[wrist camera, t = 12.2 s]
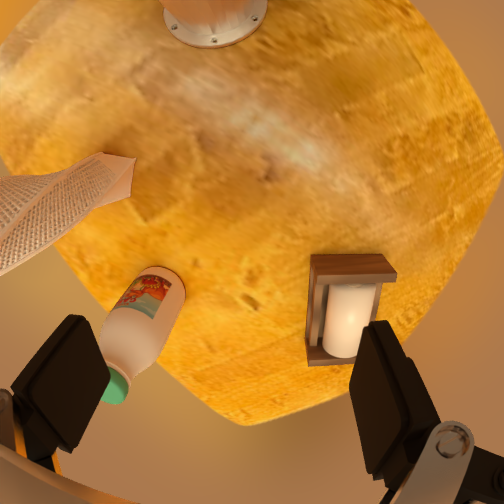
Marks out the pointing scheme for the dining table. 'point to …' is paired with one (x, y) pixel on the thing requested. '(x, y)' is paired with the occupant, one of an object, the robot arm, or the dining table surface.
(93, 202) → the skyscraper
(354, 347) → the roll
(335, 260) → the cradle
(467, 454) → the robot arm
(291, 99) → the dining table surface
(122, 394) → the milk bottle
